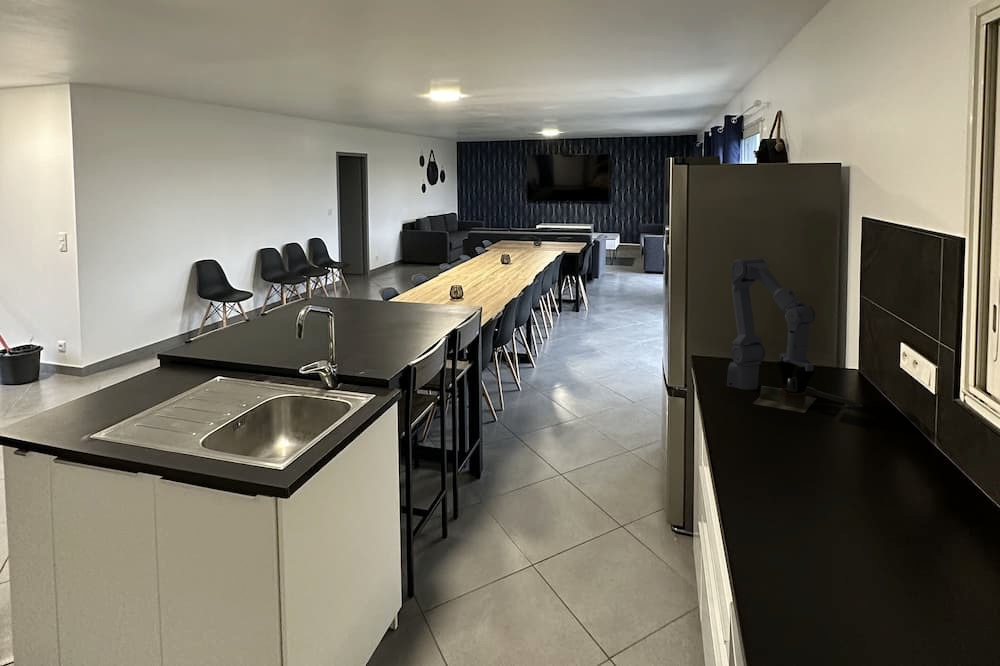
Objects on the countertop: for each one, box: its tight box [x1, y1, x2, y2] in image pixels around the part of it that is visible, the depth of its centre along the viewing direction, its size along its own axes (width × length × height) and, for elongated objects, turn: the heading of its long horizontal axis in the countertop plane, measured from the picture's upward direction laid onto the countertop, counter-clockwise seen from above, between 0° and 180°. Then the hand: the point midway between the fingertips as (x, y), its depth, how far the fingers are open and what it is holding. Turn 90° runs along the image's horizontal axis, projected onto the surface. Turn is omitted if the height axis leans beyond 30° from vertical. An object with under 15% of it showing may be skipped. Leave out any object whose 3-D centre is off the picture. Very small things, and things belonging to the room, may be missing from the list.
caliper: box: [805, 385, 863, 408], centre depth 202 cm, size 20×1×6 cm, turn 61°
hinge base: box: [752, 385, 817, 413], centre depth 203 cm, size 15×17×5 cm
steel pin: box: [786, 376, 798, 394], centre depth 200 cm, size 3×3×8 cm
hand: (793, 387), depth 200 cm, fingers open, 7 cm apart
